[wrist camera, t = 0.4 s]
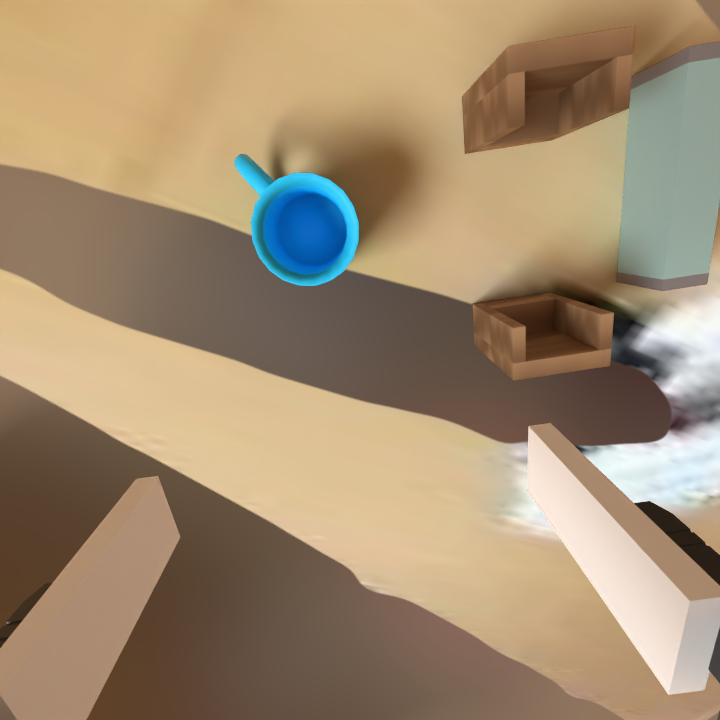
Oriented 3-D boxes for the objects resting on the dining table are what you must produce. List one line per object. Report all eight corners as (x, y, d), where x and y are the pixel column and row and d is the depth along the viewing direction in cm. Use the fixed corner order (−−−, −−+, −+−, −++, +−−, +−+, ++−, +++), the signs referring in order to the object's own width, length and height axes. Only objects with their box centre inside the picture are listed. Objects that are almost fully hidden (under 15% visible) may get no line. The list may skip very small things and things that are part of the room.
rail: (631, 76, 34) (690, 46, 28) (677, 69, 34) (744, 37, 28) (616, 281, 40) (662, 291, 34) (655, 275, 40) (707, 284, 34)
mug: (373, 231, 37) (381, 232, 29) (314, 291, 39) (308, 307, 31) (279, 128, 34) (261, 100, 26) (220, 198, 36) (186, 190, 28)
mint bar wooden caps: (462, 96, 34) (508, 45, 24) (552, 82, 34) (635, 25, 24) (474, 345, 41) (513, 380, 32) (548, 333, 41) (609, 365, 32)
